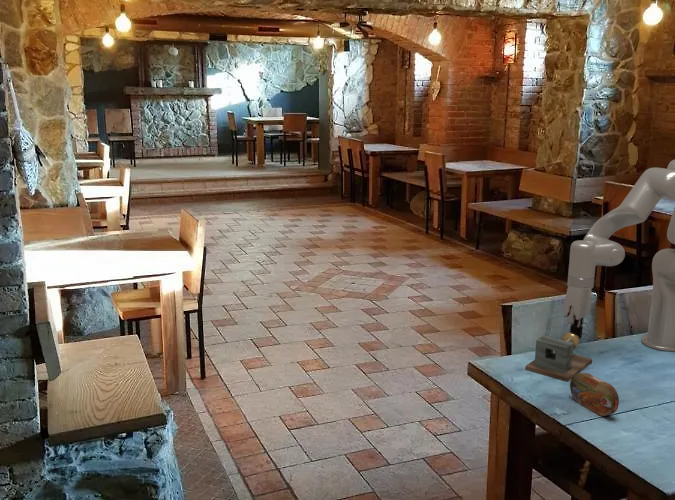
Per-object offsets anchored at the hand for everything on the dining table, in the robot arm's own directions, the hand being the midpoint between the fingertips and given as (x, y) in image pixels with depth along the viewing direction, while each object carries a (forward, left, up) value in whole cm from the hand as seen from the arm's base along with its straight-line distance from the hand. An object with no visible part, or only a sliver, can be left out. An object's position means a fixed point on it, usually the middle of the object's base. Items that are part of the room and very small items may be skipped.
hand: (575, 337), depth 210 cm
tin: (+31, +18, -6) cm, 37 cm away
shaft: (+10, 0, -2) cm, 10 cm away
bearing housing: (+10, 0, -6) cm, 12 cm away
